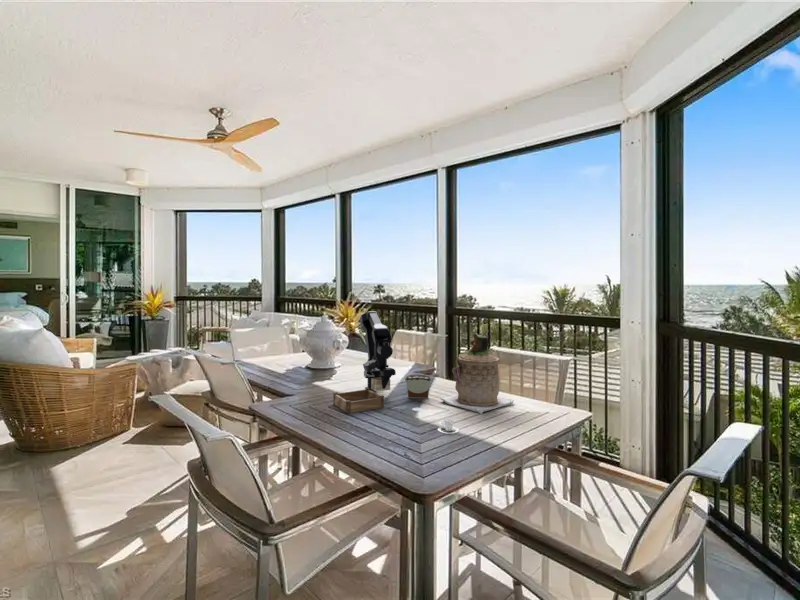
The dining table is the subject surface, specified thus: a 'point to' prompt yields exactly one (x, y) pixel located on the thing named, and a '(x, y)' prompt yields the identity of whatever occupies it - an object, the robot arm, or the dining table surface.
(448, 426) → the teacup and saucer
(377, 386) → the pale crate
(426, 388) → the food container
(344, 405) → the crate
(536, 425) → the dining table surface
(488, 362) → the cookie jar
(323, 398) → the dining table surface
